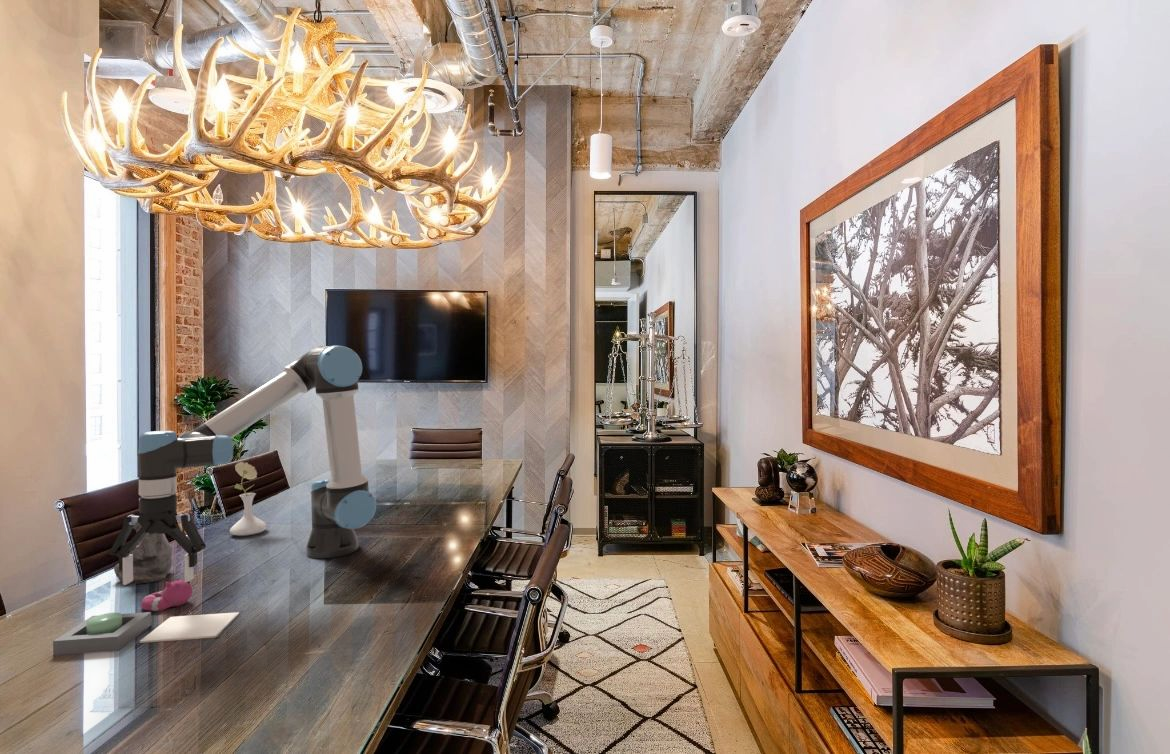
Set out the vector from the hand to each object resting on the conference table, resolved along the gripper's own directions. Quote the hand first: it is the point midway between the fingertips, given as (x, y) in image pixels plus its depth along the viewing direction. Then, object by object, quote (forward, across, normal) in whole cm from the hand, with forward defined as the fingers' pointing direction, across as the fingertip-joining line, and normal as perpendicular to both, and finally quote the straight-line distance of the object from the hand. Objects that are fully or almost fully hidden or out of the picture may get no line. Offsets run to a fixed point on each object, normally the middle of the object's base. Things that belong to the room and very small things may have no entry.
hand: (158, 581), depth 143 cm
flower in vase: (+6, +4, -64) cm, 64 cm away
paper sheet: (+7, -13, +13) cm, 20 cm away
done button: (+5, +3, +16) cm, 17 cm away
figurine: (+7, +16, -22) cm, 28 cm away
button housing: (+7, +3, +16) cm, 17 cm away
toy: (+7, -1, -3) cm, 8 cm away
